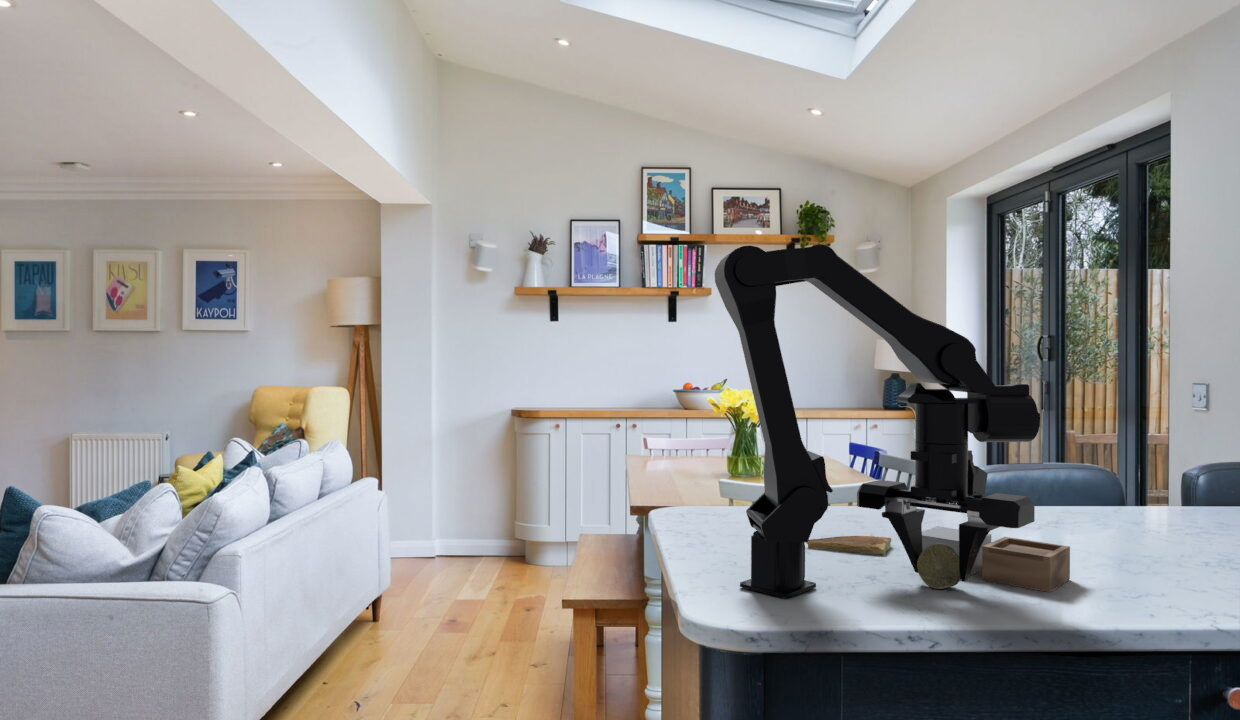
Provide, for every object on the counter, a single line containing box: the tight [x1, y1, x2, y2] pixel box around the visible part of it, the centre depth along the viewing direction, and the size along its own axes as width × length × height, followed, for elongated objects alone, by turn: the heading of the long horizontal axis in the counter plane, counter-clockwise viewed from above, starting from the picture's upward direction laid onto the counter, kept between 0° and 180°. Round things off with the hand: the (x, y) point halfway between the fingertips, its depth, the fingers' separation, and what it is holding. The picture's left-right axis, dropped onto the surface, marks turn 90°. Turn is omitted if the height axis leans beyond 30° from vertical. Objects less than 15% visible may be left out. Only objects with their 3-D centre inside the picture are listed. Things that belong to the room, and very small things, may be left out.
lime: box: [917, 543, 961, 590], centre depth 95 cm, size 4×5×5 cm
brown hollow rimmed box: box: [981, 536, 1071, 593], centre depth 98 cm, size 8×8×4 cm
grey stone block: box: [922, 526, 992, 576], centre depth 104 cm, size 7×7×4 cm
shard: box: [805, 535, 892, 556], centre depth 115 cm, size 11×8×2 cm
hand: (941, 576), depth 94 cm, fingers closed on lime, 5 cm apart
